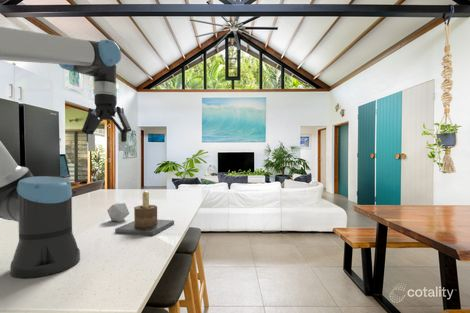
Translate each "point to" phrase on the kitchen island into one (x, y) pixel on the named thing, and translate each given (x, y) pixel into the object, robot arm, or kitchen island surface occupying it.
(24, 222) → the robot arm
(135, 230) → the stand
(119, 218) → the die
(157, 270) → the kitchen island surface
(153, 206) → the bead
